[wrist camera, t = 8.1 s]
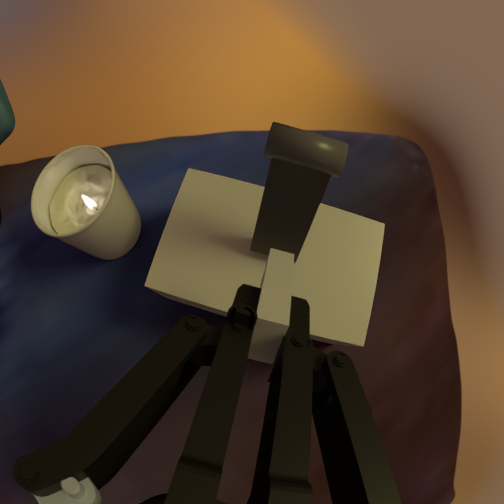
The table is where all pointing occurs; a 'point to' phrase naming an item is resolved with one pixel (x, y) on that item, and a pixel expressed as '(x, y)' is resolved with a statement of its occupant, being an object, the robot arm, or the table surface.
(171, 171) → the table surface
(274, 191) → the lever
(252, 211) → the beige rectangular box
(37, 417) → the table surface
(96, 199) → the candle holder
